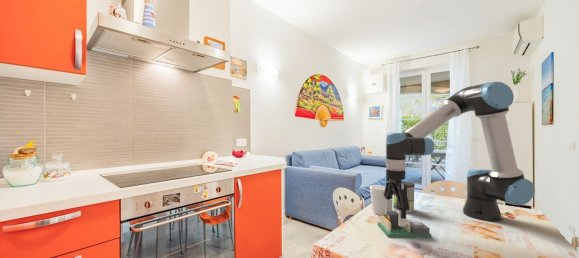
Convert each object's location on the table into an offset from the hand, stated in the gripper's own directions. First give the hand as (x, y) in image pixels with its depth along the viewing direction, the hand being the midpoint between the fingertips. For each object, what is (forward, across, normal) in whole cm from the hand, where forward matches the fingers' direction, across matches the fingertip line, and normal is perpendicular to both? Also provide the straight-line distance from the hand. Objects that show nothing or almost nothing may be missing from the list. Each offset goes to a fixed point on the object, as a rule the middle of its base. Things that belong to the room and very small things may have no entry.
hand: (395, 219), depth 104 cm
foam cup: (+5, -22, +1) cm, 23 cm away
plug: (+3, 0, 0) cm, 3 cm away
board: (+4, 0, +3) cm, 5 cm away
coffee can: (+5, -28, +16) cm, 33 cm away
